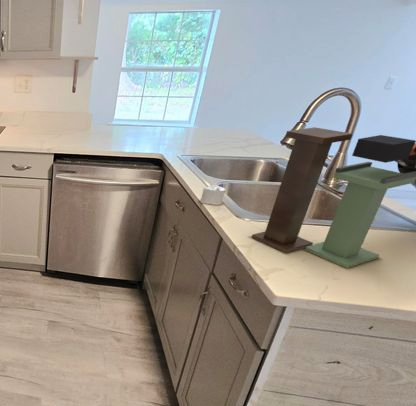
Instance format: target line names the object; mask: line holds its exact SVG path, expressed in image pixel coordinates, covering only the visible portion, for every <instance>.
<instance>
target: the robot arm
mask: <svg viewBox="0 0 416 406" xmlns="http://www.w3.org/2000/svg"><path fill="white" fill-rule="evenodd" d="M414 152H415V153H416V147H415V148H414ZM394 162H396V163H397V171H398V173H403V174H405V173H409V172H414V171H415V172H416V154H415V155H410V156H409V157H408V158H406V159H401V160H397V161H394ZM409 185H412V186H413V187H414V189H416V180H415V182H414V183H410V184H409Z"/></svg>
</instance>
